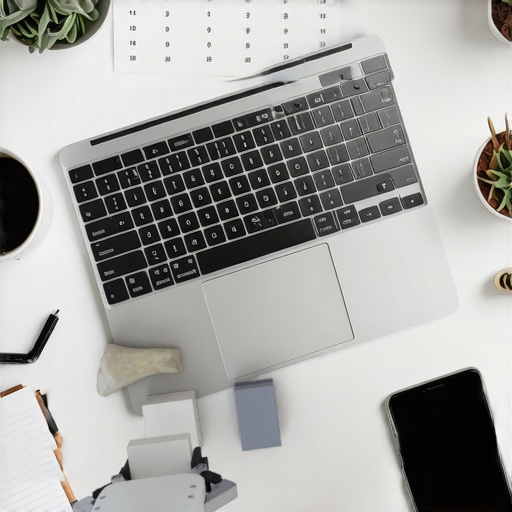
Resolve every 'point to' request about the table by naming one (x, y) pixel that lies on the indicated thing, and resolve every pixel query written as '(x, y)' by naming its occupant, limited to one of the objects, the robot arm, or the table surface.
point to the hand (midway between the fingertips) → (166, 464)
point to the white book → (160, 456)
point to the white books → (172, 416)
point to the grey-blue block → (257, 414)
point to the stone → (133, 366)
